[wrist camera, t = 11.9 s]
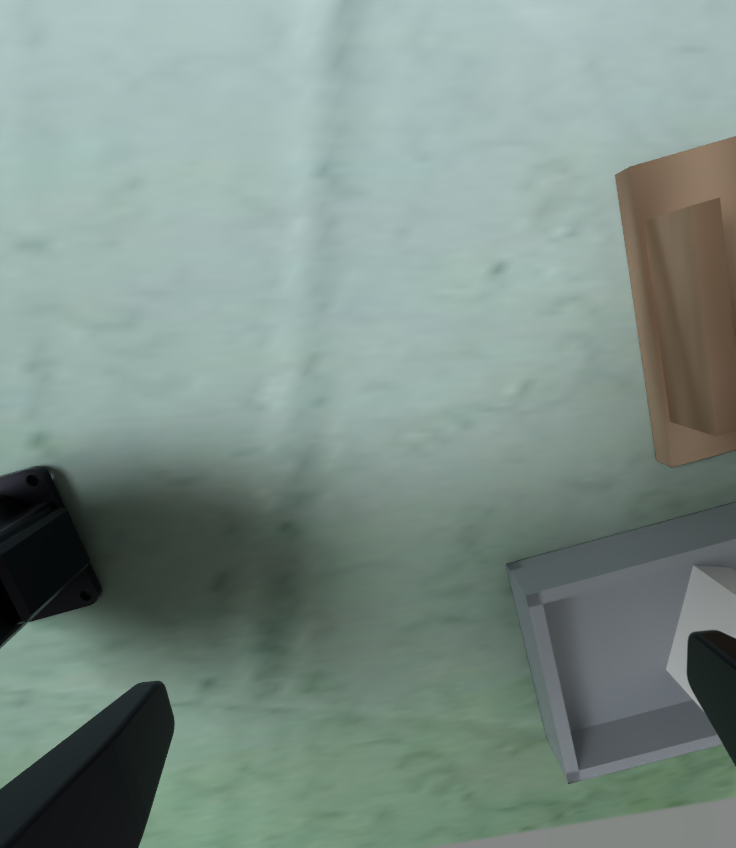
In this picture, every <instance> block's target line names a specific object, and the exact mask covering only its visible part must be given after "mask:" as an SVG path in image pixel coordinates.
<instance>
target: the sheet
mask: <svg viewBox="0 0 736 848" xmlns="http://www.w3.org/2000/svg"><path fill="white" fill-rule="evenodd" d="M705 630H718V631H721V632H723V633H725V634H727V635H729V636H731V637H734V638H736V571H735V570H734V569H732V568H730V567H715V566H700V565H693V568H692V572H691V575H690V579H689V583H688V587H687V591H686V595H685V598H684V602H683V606H682V610H681V614H680V618H679V621H678V625H677V629H676V633H675V637H674V641H673V644H672V648H671V652H670V656H669V660H668V663H667V667H666V670H667V671H668V672H669V674H670V675H671V676H672V677H673V678H674V679H675V680H676V681H677V682H678V684H679V685H680V686H681V687H682V688H683V689H684V690H685V691H686V692H687V694H688V695H689V696H690V697H691V698H692V699H693V700H694V701H695V702H696V704H697V705H698V706H699V707H700V708H701V709H702V707H701V705H700V704H699V702H698V700H697V698H696V697H695V695H694V693H693V691H692V690H691V687H690V685H689V682H688V679H687V642H688V636H689V634H690V633H692V632H695V631H705ZM702 710H703V709H702Z"/></svg>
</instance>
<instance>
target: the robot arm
mask: <svg viewBox="0 0 736 848" xmlns="http://www.w3.org/2000/svg"><path fill="white" fill-rule="evenodd" d="M33 475H35V476H37V478H38V479H39V483H37V482H35V481H34V480H33V477H32V476H33ZM85 590H87V591H89V592H90V593H91V595H88V594H86V592H85ZM101 594H102V589H101V586H100V584H99V581H98V579H97V577H96V575H95V573H94V570H93V568H92V566H91V564H90V559H89V557H88V555H87V553H86V550H85V548H84V546H83V544H82V541H81V539H80V537H79V535H78V533H77V530H76V528H75V526H74V524H73V522H72V519H71V517H70V515H69V513H68V511H67V510H66V508H65V506H64V504H63V502H62V500H61V497H60V495H59V493H58V491H57V489H56V486H55V484H54V482H53V480H52V478H51V475H50V474H49V472H48V471H47V470H46V469H45V468H43V467H40V466H34V467H30V468H27V469H23V470H20V471H16V472H12V473H9V474H5V475H2V476H0V648H1V647H3V646H4V645H5V644H6V643H7V642H8V641H9V640H10V639H11V638H12V637H13V636H14V635H15V634H16V633H17V632H18V631H20V630H21V629H22V628H23V627H24V626H25V625H26V624H27V623H28V622H31V621H34V620H38V619H42V618H45V617H49V616H53V615H56V614H60V613H64V612H67V611H71V610H75V609H78V608H82V607H86V606H89V605H92V604H94V603H95V602H96V601H97V599H98V598H99V597H100V596H101ZM687 679H688V682H689V685H690V687H691V690H692V691H693V693H694V695H695V697H696V698H697V700H698V702H699V704H700V705H701V707H702V709H703V711H704V712H705V714H706V716H707V718H708V719H709V721H710V723H711V724H712V726H713V728H714V730H715V731H716V733H717V735H718V737H719V738H720V740H721V742H722V744H723V745H724V747H725V749H726V750H727V752H728V754H729V756H730V757H731V759H732V761H733V763H734V764H735V766H736V638H734V637H731V636H729V635H727V634H725V633H723V632H721V631H718V630H705V631H695V632H692V633H690V634H689V636H688V642H687ZM174 724H175V723H174V716H173V712H172V708H171V705H170V701H169V698H168V694H167V690H166V687H165V685H164V684H163V683H162V682H160V681H151V682H142V683H138V684H136V685H135V686H134V687H132V688H131V689H130V690H128V691H127V692H126V693H124V694H123V695H122V696H121V697H119V698H118V699H117V700H115V701H114V702H113V703H112V704H110V705H109V706H108V707H106V708H105V709H104V710H102V711H101V712H100V713H99V714H97V715H96V716H95V717H93V718H92V719H91V720H90V721H88V722H87V723H86V724H84V725H83V726H82V727H80V728H79V729H78V730H77V731H75V732H74V733H73V734H71V735H70V736H69V737H68V738H66V739H65V740H64V741H62V742H61V743H60V744H58V745H57V746H56V747H55V748H53V749H52V750H51V751H49V752H48V753H47V754H45V755H44V756H43V757H42V758H40V759H39V760H38V761H36V762H35V763H34V764H33V765H31V766H30V767H29V768H27V769H26V770H25V771H23V772H22V773H21V774H20V775H18V776H17V777H16V778H14V779H13V780H12V781H10V782H9V783H8V784H7V785H5V786H4V787H3V788H1V789H0V848H138V847H139V844H140V842H141V839H142V836H143V833H144V830H145V827H146V824H147V821H148V818H149V814H150V811H151V808H152V804H153V801H154V797H155V794H156V791H157V787H158V784H159V781H160V777H161V774H162V770H163V767H164V764H165V760H166V757H167V754H168V750H169V747H170V743H171V740H172V737H173V733H174Z"/></svg>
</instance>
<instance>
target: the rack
mask: <svg viewBox="0 0 736 848" xmlns="http://www.w3.org/2000/svg"><path fill="white" fill-rule="evenodd" d="M615 177H616V184H617V191H618V198H619V205H620V212H621V219H622V226H623V233H624V240H625V246H626V253H627V260H628V267H629V274H630V281H631V288H632V295H633V302H634V309H635V316H636V323H637V329H638V336H639V343H640V350H641V357H642V364H643V371H644V378H645V385H646V392H647V399H648V405H649V412H650V419H651V426H652V433H653V440H654V447H655V454H656V461H658V462H661V463H663V464H665V465H667V466H669V467H671V468H672V467H675V466H679V465H683V464H686V463H690V462H694V461H697V460H701V459H705V458H708V457H712V456H716V455H719V454H723V453H727V452H730V451H734V450H736V136H735V137H732V138H728V139H725V140H721V141H718V142H714V143H711V144H707V145H704V146H700V147H697V148H693V149H690V150H686V151H683V152H680V153H676V154H673V155H669V156H666V157H662V158H659V159H655V160H652V161H648V162H645V163H641V164H638V165H634V166H631V167H629V168H627V169H625V170H623V171H621V172H620V173H618V174H616V175H615Z"/></svg>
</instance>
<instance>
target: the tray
mask: <svg viewBox="0 0 736 848" xmlns="http://www.w3.org/2000/svg"><path fill="white" fill-rule="evenodd" d="M693 565H700V566H715V567H730V568H732V569H734V570H735V571H736V502H734V503H731V504H727V505H723V506H720V507H716V508H712V509H709V510H705V511H701V512H697V513H694V514H690V515H686V516H683V517H679V518H675V519H671V520H668V521H664V522H660V523H657V524H653V525H649V526H646V527H642V528H638V529H634V530H631V531H627V532H623V533H620V534H616V535H612V536H608V537H605V538H601V539H597V540H594V541H590V542H586V543H583V544H579V545H575V546H571V547H568V548H564V549H560V550H557V551H553V552H549V553H545V554H542V555H538V556H534V557H531V558H527V559H523V560H520V561H516V562H512V563H508V564H506V567H507V571H508V575H509V579H510V584H511V588H512V592H513V597H514V601H515V605H516V610H517V614H518V618H519V623H520V627H521V631H522V635H523V640H524V644H525V648H526V653H527V657H528V661H529V666H530V670H531V674H532V678H533V683H534V687H535V691H536V696H537V700H538V704H539V709H540V713H541V717H542V721H543V726H544V730H545V734H546V738H547V740H548V742H549V744H550V746H551V748H552V750H553V753H554V755H555V757H556V759H557V761H558V763H559V765H560V767H561V770H562V772H563V774H564V776H565V778H566V780H567V782H568V784H571V783H574V782H578V781H582V780H586V779H590V778H594V777H598V776H602V775H605V774H609V773H613V772H617V771H621V770H625V769H629V768H633V767H636V766H640V765H644V764H648V763H652V762H656V761H660V760H664V759H667V758H671V757H675V756H679V755H683V754H687V753H691V752H695V751H698V750H702V749H706V748H710V747H714V746H718V745H722V742H721V740H720V738H719V737H718V735H717V733H716V731H715V730H714V728H713V726H712V724H711V723H710V721H709V719H708V718H707V716H706V714H705V712H704V711H703V710H702V709H701V708H700V707H699V706H698V705H697V704H696V702H695V701H694V700H693V699H692V698H691V697H690V696H689V695H688V694H687V692H686V691H685V690H684V689H683V688H682V687H681V686H680V685H679V684H678V682H677V681H676V680H675V679H674V678H673V677H672V676H671V675H670V674H669V672H668V671H667V670H666V667H667V663H668V660H669V656H670V652H671V648H672V644H673V641H674V637H675V633H676V629H677V625H678V621H679V618H680V614H681V610H682V606H683V602H684V598H685V595H686V591H687V587H688V583H689V579H690V575H691V572H692V568H693Z"/></svg>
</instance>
